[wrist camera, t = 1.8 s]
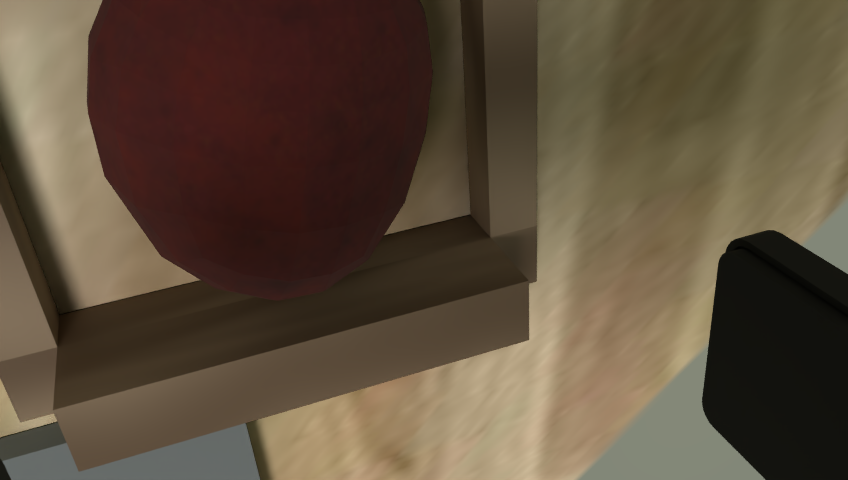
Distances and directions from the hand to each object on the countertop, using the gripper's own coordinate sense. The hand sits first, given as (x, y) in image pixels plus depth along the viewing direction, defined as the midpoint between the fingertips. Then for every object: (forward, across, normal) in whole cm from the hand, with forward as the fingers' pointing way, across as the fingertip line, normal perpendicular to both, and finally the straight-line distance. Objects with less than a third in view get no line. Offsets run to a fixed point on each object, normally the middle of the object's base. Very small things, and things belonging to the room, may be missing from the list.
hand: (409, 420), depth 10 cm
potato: (+13, 0, -1) cm, 13 cm away
